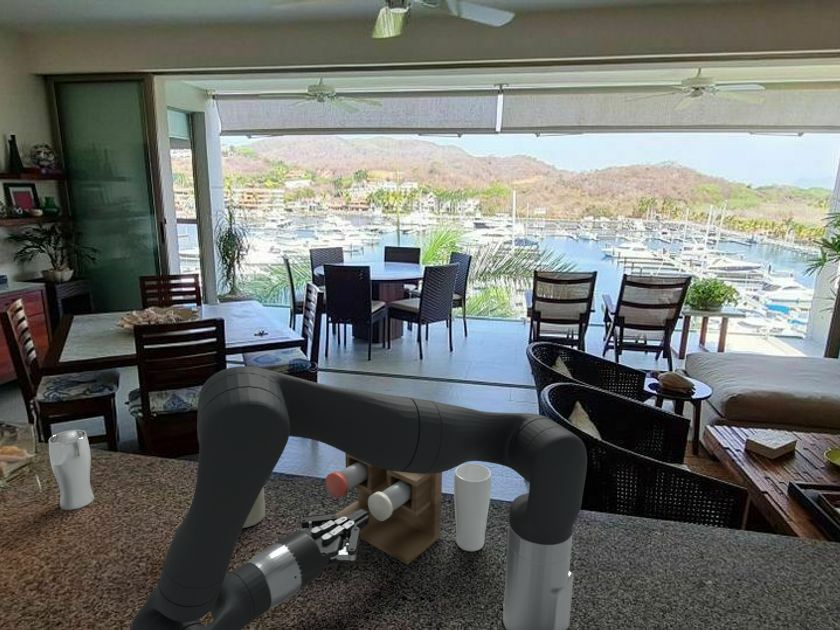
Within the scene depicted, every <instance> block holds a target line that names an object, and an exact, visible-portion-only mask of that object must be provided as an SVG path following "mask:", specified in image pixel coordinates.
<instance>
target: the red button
mask: <svg viewBox="0 0 840 630" xmlns="http://www.w3.org/2000/svg"><path fill="white" fill-rule="evenodd" d="M366 479H368V473H367V465H366V464H364V463H362V462H359V461H358V462H356V463H354V464H353V465H351V466H349V467H347V468H346V467H345V468H344V469H341V470H340V471H336V470H334V471H331V472H330V473H329V474H327V475H326V477H325V485H326V489H327V491H328V493H329V494H330V495H331V496H332V497H333V498H335V499H340V498H342V497H344V496H346V495H347V494H348V491H349V490H351V489H352V488H355V487H354V486H356V485H358V484H359V483H361V482H363V481H364V480H366Z"/></svg>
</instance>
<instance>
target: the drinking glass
mask: <svg viewBox="0 0 840 630" xmlns="http://www.w3.org/2000/svg"><path fill="white" fill-rule="evenodd" d="M491 492H492V472H491V470H490V469H489V468H488V467H487V466H484V465H482V464H479V463H469V462H468V463H463V464H461V465H459V466H457V467H455V470H454V479H453V500H454V513H455V514H454V515H455V531H456V533H455V541H456V544H457V546H458V547H459V548H460V549H462V550H463V551H467V552H476V551H479V550H481V549H483V547H484V545H485V540H486V539H485V538H486V529H487V521H488V514H489V508H490V501H491Z"/></svg>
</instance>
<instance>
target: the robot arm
mask: <svg viewBox="0 0 840 630" xmlns="http://www.w3.org/2000/svg"><path fill="white" fill-rule="evenodd" d="M196 431H197V432H196V433H197V434H196V435H197V440H198V445H199V448H198V449H199V450H198V451H199V452H198V453H199V454H198V463H197V464H198V465H197V474H196V482H195V483H196V484H195V487H194V488H195V490H194V495H193V497H192V499H191V500H192V501H191V503H190V507H189V509H188V511H187V514H186V515H185V518H184V519H183V520H182V522H181V524H180V525H179V527H178V528H177V530H176V531H175V534H174V536H173V538H172V540H171V543H170V544H169V547H168V550H167V553H166V556H165V559H164V562H163V566H162V568H161V572H160V575H159V579H158V583H157V585H156V586H155V588H154V589H153V590H152V592H151V593H150V594H149V596H148V597H147V599H146V601H145V602H144V604H143V605H142V606H141V608H139V610H138V612H136V614H135V616H134V617H133V620H132V621H131V625H130V630H243V629H244V628H245V627H247V626H248V625H250V624H251V623H252V622H254V621H255V620H256V619H258V618H259V617H261V616H263V615H264V614H265V613H267V612H268V611H270V610H271V609H273V608H274V607H276V606H279V605H280V604H282V603H284V602H286V601H287V600H288V599H289V598H291V597H292V596H294V595H295V594H296V593H298V592H299V591H301V590H302V589H304V588H305V587H307V586H308V585H309V584H311V583H312V582H314V581H315V580H316V579H318V578H319V577H320V576H321V575H322V573H323V572H324V570H325V569H326V568H327V567H329V566H333V565H335V564H336V563H338V561H347V564H348V565H350V566H353V565H356V563H357V560H358V559H357V558H358V553H359V549H360V543H361V542H360V540H361V539H360V530H361V529H363V528H364V527H365V526H367V525H368V524H369V512H367V511H365V510H363V509H360V510H358V511H355V512H354V513H352V514H350V515H349V516H347V517H341V518H337V515H335V513H334V514H333V513H332V514H325V515H319V516H318V515H317V516H316V515H315V516H309V517H301V519H300V523H299V524H300V525H299V526H300V530H295V531H293V532H291V533H289V534H288V535H286V536H285V537H283V538H281V539H280V540H278V541H276V542H275V543H273V544H271V545H269V546H267V547H266V548H265V549H263V550H261V551H259V552H258V553H257V554H255V555H254V556H252V557H251V558H250V559H249V560H248V561H246V562H245V563H243V564H242V565H239V566H238V567H236V568H235V569H233V570H232V571H230V572H228V569H229V566H230V563H231V560H232V557H233V554H234V551H235V548H236V546H237V543H238V540H239V538H240V536H241V533H242V530H243V529H244V528H243V526H244V524H245V521H246V519H247V517H248V515H249V513H250V511H251V509H252V507H253V505H254V503H255V501H256V499H257V498H258V496H259V494H260V492H261V490H262V488H263V487H265V485H266V483H267V481H268V479H270V476H271V475H272V473H273V471H274V469H275V467H276V466H277V464H278V462H279V460H280V458H281V457H282V455H283V453H284V451H285V448H286V445H287V444H288V441H289V438H290V437H293V438H303V439H307V440H308V439H309V440H313V441H315V442H320V443H323V444H326V445H328V446H330V447H332V448H335V449H336V450H339V451H341V452H343V453H347V454H349V455H351V456H353V457H355V458H357V459H359V460H361V461H363V462H365V463H367V464H370V465H372V466H375V467H378V468H381V469H385V470H389V471H396V472H407V473H419V474H435V473H441V472H442V473H444V472H448V471H450V470H452V469H456V468H457V467H458V466H460V465H463V464H466V463H469V462H482V463H490V464H495V465H500V466H503V467H507V468H510V469H511V470H513V471H514V472H516V473H517V474H518V475H519V476H521V478H523V479H524V480H525V481H526V482H527V483H529V488H528V493H522V494H521V495H519V496H517V497H515V498H514V499H513V500H512V502H511V504H510V507H509V510H508V511H509V513H508V528H507V533H508V534H507V546H506V547H507V548H506V559H505V560H506V561H505V562H506V564H505V580H504V595H503V598H504V600H503V609H502V610H503V615H502V619H503V620H502V621H503V625H504V628H505V630H568V628H569V627H570V617H571V609H572V608H571V606H572V599H573V587H574V586H573V585H574V577H575V576H574V573H573V572H572V571H570V567H571V566H570V565H571V556H572V555H571V554H572V544H573V542H572V541H573V535H574V534H573V531H574V525H575V523H576V521H577V519H578V517H579V515H580V513H581V512H580V511H581V510H582V509H581V508H582V504H583V496H584V489H585V482H586V477H587V469H588V468H587V467H588V454H587V448H586V445H585V444H584V442H583V440H582V439H581V438H580V437H579V436H577V435H576V434H574V433H573V432H571V431H570V430H568V429H567V428H565V427H563V426H562V425H560V424H559V423H557V422H556V421H554V420H552V419H551V418H549V417H547V416H545V415H542V414H538V413H530V412H529V413H527V412H495V411H494V412H493V411H491V412H490V411H483V410H478V409H474V408H470V407H465V406H459V405H454V404H449V403H447V404H446V403H443V402H438V401H433V400H428V399H423V398H422V399H421V398H415V397H408V396H401V395H391V394H385V393H380V392H379V393H378V392H373V391H368V390H367V391H366V390H360V389H354V388H348V387H347V388H345V387H341V386H340V387H339V386H333V385H328V384H323V383H320V382H315V381H312V380H311V381H310V380H307V379H303V378H301V377H300V378H299V377H296V376H293V375H289V374H286V373H285V374H284V373H281V372H278V371H274V370H270V369H266V368H263V367H256V366H250V365H249V366H248V365H242V366H241V365H240V366H231V367H228V368H225V369H222V370H221V369H220V371H218V372H216V373H213V375H211V376H210V377H209V378H207V380H206V381H205V382H204V383H203V384H202V387H201V389H200V392H199V394H198V401H197V422H196ZM227 572H228V573H227ZM208 613H210V615H211V617H212V621H210V623H209V624H206V625H203V623H202V622H201V621H200V619H202V618H205V616H206V615H208Z"/></svg>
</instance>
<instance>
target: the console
mask: <svg viewBox="0 0 840 630" xmlns="http://www.w3.org/2000/svg"><path fill="white" fill-rule="evenodd" d="M344 453H345V452H344ZM358 461H359V462H362V463H364V464H366V465H367V473H368V479H366V480H364V481H363V482H361V483H359V484H358V485H356V486H354V487H353V488H357V489H358V490H357V491H358V500H356V501H355V502H353V503H351V504H350V505H348V506H347V507H345V508H343V509H342V510H340V511H338V512H337V513H336V514H335V513H334V514H335V515H337V518H341V517H347V516H349V515H350V514H352V513H354V512H355V511H358V510H360V509H363V510H365V511H367V512H369V524H368V525H367V526H365V527H364V528H363V529H361V530H360V540H362V541H364V542H366V543H367V544H369V545H371V546H373V547H375V548H377V549H378V550H380V551H382V552H384V553H385V554H387V555H388V556H391V557H393V558H395V559H397V560H398V561H400V562H401V563H403V564H405V565H409V564H410V563H411V562H413V561H414V560H415V559H416V558H417V557H419V556H420V555H422V553H423V552H425V551H426V550H427V549H428V548H429V547H430V546H432V545H433V544H434V543H435V542H436V541H438V540H439V539H440V538H441V531H442V530H441V528H442V527H441V526H442V525H441V524H442V522H441V521H442V493H443V491H442V488H443V486H442V485H443V472H441V473H435V474H419V473H407V472H396V471H389V470H385V469H381V468H378V467H375V466H372V465H370V464H367V463H365V462H363V461H361V460H359V459H357V458H355V457H353V456H351V455H349V454H347V453H345V468H347V467H349V466H351V465H353V464H354V463H356V462H358ZM400 480H402V481H405V482H407V483H409V484H411V485H412V498H411V499H410V500H408V501H407V502H405V503H404V504H402V505H401V506H399V507H398V508H397V509H395V510H394V511H393V512H392V515H391V516H390V517H389V518H387V519H386V520H384V521H379V520H377V519H376V518H375V517H374V516H373V515H372V514H371V512H370V510H369V507H368V499H369V497H370V496H371V495H372V494H374V493H376V492H383V491H384V490H386V489H387V488H389V487H390V486H392V485H394V484H395V483H397V482H398V481H400Z"/></svg>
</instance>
